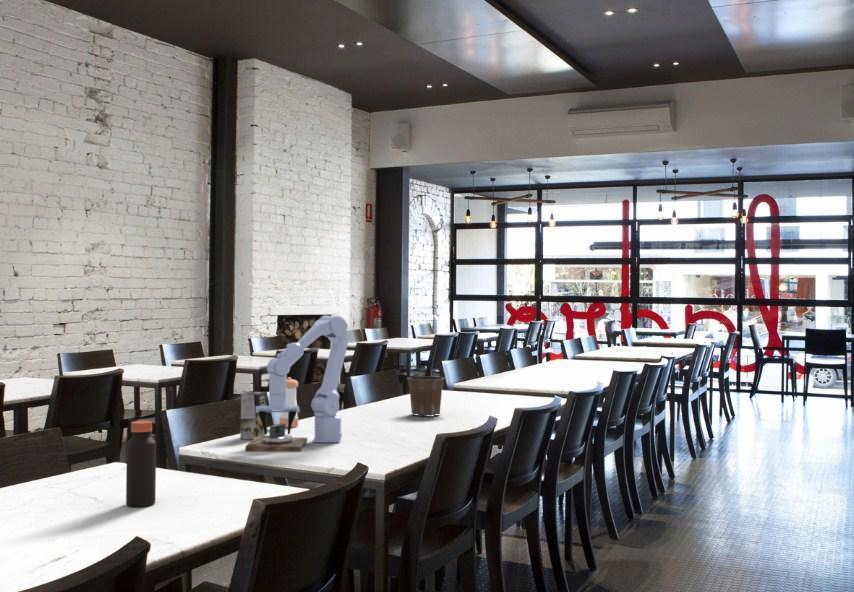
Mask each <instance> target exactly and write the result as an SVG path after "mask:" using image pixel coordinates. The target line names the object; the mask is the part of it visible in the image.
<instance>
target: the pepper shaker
mask: <svg viewBox="0 0 854 592" xmlns="http://www.w3.org/2000/svg"><path fill="white" fill-rule="evenodd" d="M298 387H299V382H298V380H296V379H292V377H290V376H289V377H288V376H287V384H286V406H298V403H297V388H298ZM279 411H284V410H279ZM286 411H287V410H286ZM288 413H289V412H279V414H280V415H279V416H280V417H279V420H278V422H279V423H282V424H285V427H288ZM279 423H278V424H279ZM297 426H298V427H299V417H298V413H296V415H295V417H294V420H293V422H292V425H291V427H295V428H298V427H297Z"/></svg>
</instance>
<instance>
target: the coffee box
mask: <svg viewBox="0 0 854 592" xmlns="http://www.w3.org/2000/svg"><path fill="white" fill-rule="evenodd" d="M267 393H268V392H267V391H248V392H244V393H241V394H240V395H241V397H240V436H239V437H240V438H243V439H242V440H250V439H254V438H255V437H263V436H265V435H267V434H265V433H264V427H263V424H262V421H261V419H260V417H259V413H256V406H267V402H268V401H267V400H268V399H267V397H268V396H267Z"/></svg>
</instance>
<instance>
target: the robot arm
mask: <svg viewBox="0 0 854 592" xmlns="http://www.w3.org/2000/svg"><path fill="white" fill-rule="evenodd" d="M348 326H349V325H348V323H347V321H346V320H345V319H344V317H342V316H340V315H337V316H335V315H332V316H331V315H325V314H324V315H322V316H320V317H319V319H318V320H316V321H315V322H314V323H313V325H312V326H311V328H309V329H308V331H306V333H305V334H303V336H301V338H299V340H298V341H297V342H291V343H287V344H286V345H285V347H286V348H284V349H283V350H282V351H281V352H280V353H277V354H276V357H273V358H271V359H269V361H268V363H267V366H266V367H265V368H266V372H267V373H268V375H269V381H268V382H269V384H268V385H269V387H268V389H269V391H268V392H269V393H268V395H269V397H268V398H269V402H268V405H266V406H256V413H259V417H260V419H261V421H262V424H263V427H264V433H265V434H266V435H267V434H268V424H267V423H268V413H280V412H289V413H288V428H287V435H290V434H291V425H292V422H293V420H294V417H295V415H296V413H297V414H298V413H300V406H298V405H297V406H286V384H287V378H288V375H287V374H289V373H290V370H291V367H292V366H293V365H294V364H295V363H297V361H298V360H300V359H301V357H302V356H303V355H304V350H306V348H308V347H309V345H311V344H313V343H314V342H315V341H316V340H317V339H318V338H319V337H321V336H326V337H327V338H328V340H329V341H330V343H331V347H330V350H329V354H328V355H329V356H328V358H327V363H326V367H325V371H324V374H323V379H322V381H321V382H322V383H321V386H320V387H319V388H318V390H317V391H316V393H315V396H314V397H313V398H312V400H311V404H310V406H311V409H312V411H313V412H314V438H313V439H312V441H311V442H312V443H341V440H342V437H343V436H342V435H343V433H342V416H340V415H337V413H339V410H340V402H339V400H340V394H339V392H338V390H337V389H338V386H339V382H340V378H341V374H342V369H343V365H344V361H345V356H346V353H347V349H348V344H349V338H348ZM280 410H284V411H280ZM286 410H287V411H286Z"/></svg>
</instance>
